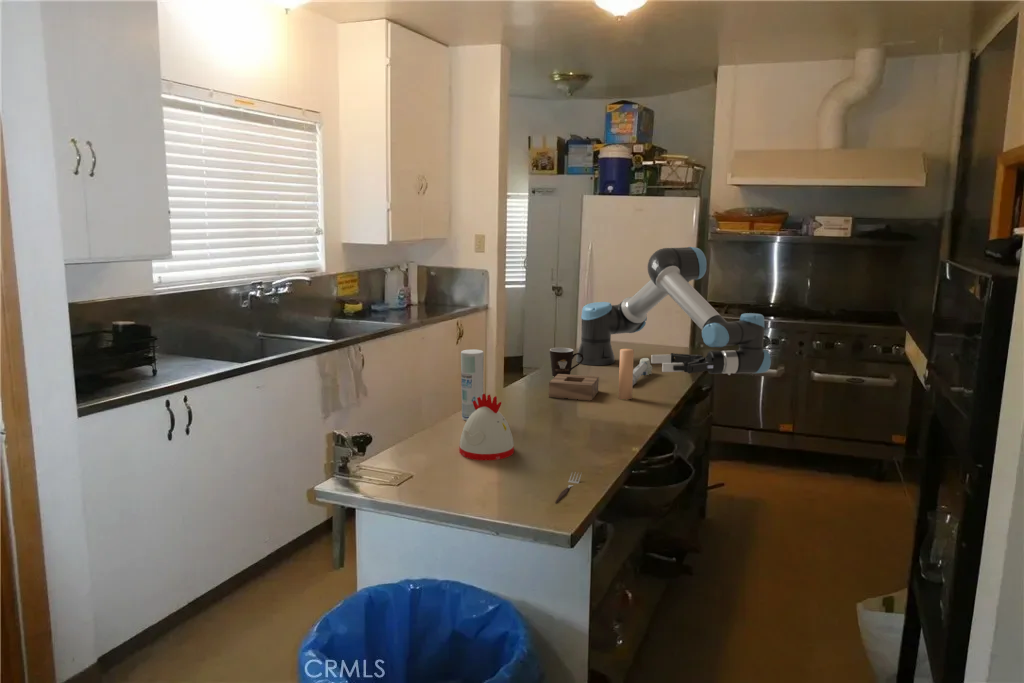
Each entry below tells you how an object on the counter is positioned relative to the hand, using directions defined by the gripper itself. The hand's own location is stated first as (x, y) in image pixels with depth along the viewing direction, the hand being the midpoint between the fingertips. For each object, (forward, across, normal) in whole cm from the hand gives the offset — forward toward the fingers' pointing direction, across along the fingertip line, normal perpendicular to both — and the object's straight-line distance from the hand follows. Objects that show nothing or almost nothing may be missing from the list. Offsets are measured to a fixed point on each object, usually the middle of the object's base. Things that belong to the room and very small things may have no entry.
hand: (656, 363), depth 242 cm
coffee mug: (+25, +31, -11) cm, 42 cm away
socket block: (+26, +7, -11) cm, 29 cm away
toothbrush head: (0, +26, -12) cm, 29 cm away
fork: (+40, -77, -13) cm, 88 cm away
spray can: (+60, -20, -12) cm, 64 cm away
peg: (+10, 0, -12) cm, 15 cm away
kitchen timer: (+57, -50, -12) cm, 76 cm away
